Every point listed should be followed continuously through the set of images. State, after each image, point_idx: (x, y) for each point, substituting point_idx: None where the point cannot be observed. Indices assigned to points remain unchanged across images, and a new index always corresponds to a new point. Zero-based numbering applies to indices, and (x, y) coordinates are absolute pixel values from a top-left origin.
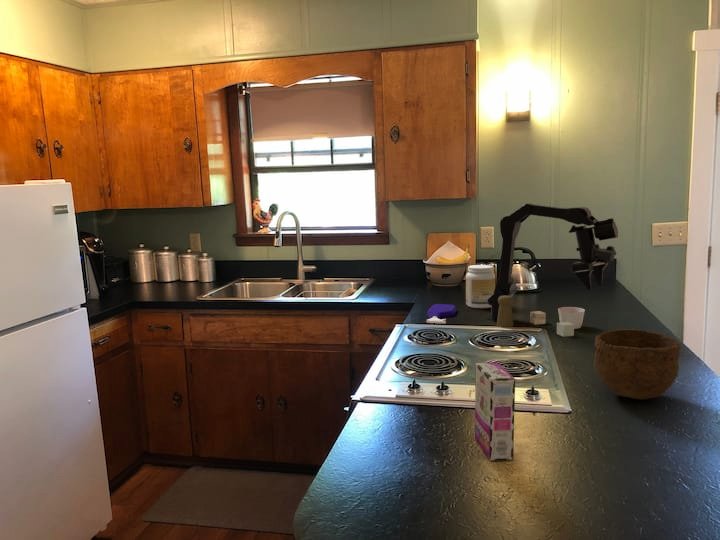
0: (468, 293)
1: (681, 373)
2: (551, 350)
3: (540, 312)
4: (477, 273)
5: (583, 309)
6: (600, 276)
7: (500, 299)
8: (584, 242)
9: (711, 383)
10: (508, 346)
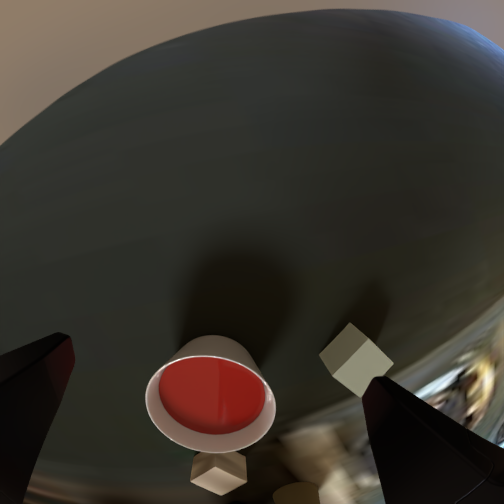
0: None
1: (483, 60)
2: (488, 312)
3: (211, 478)
4: None
5: (167, 365)
6: (11, 398)
7: None
8: None
9: (486, 39)
10: (472, 395)
